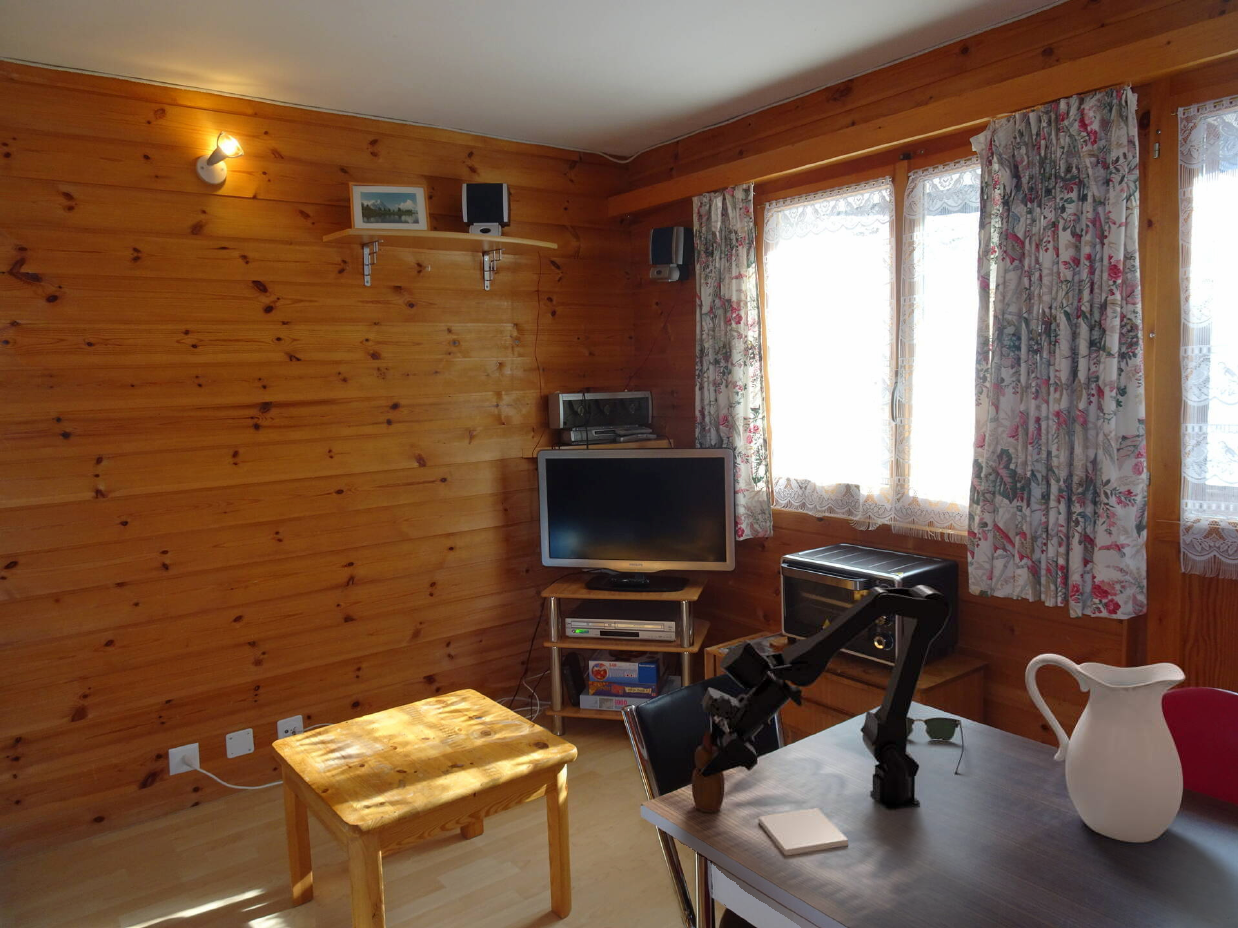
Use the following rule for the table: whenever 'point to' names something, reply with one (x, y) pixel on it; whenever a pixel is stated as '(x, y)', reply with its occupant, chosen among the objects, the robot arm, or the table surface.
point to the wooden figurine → (707, 779)
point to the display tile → (802, 831)
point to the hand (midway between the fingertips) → (700, 766)
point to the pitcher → (1119, 748)
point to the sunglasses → (938, 729)
